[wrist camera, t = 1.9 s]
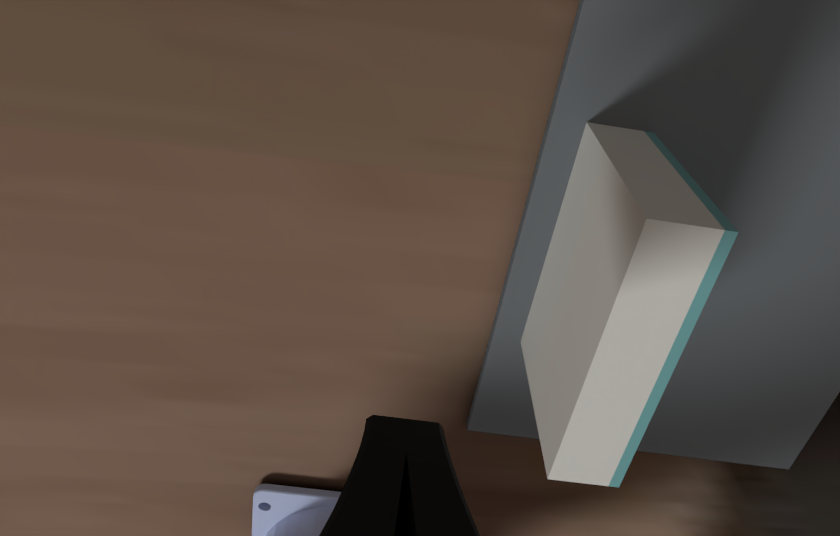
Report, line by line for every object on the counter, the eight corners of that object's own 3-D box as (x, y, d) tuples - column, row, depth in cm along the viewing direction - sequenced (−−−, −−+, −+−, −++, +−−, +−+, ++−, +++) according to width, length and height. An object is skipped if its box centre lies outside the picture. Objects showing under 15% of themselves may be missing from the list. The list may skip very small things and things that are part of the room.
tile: (576, 349, 23) (618, 487, 18) (520, 341, 23) (547, 479, 18) (653, 132, 19) (738, 232, 14) (586, 122, 19) (646, 218, 14)
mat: (784, 461, 26) (788, 469, 26) (467, 422, 25) (467, 430, 25) (1065, 25, 18) (1078, 28, 17) (595, -59, 17) (599, -58, 16)
